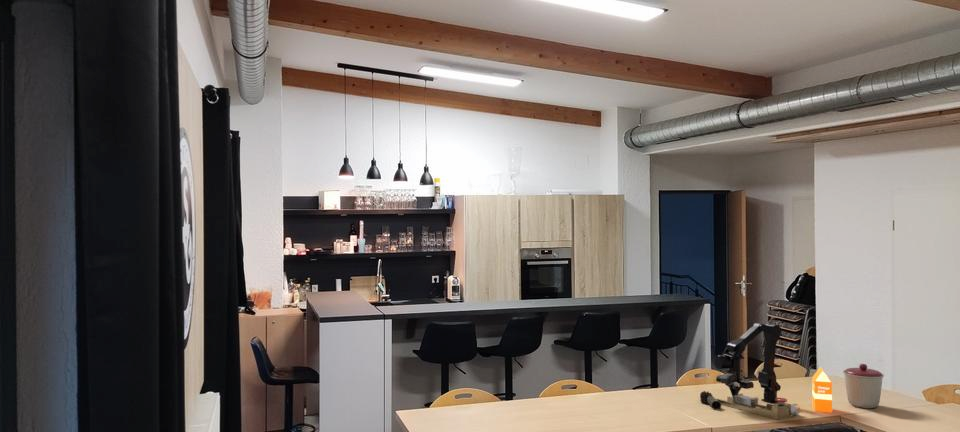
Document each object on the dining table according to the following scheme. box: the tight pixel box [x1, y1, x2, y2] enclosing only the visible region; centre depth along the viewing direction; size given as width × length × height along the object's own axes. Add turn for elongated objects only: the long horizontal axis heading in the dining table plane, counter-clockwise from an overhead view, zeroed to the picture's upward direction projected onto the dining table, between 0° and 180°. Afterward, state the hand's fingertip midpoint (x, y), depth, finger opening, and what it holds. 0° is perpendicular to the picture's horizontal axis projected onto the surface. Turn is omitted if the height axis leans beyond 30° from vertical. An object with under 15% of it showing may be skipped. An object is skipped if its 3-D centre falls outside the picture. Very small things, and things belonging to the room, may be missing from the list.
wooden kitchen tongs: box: [715, 396, 801, 421], centre depth 335 cm, size 16×36×9 cm, turn 31°
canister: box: [842, 363, 885, 409], centre depth 342 cm, size 18×18×21 cm
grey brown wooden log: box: [699, 390, 722, 410], centre depth 344 cm, size 18×7×6 cm, turn 179°
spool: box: [732, 392, 759, 408], centre depth 337 cm, size 6×10×6 cm, turn 32°
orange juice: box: [811, 366, 833, 413], centre depth 335 cm, size 8×9×20 cm
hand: (734, 398), depth 343 cm, fingers closed
